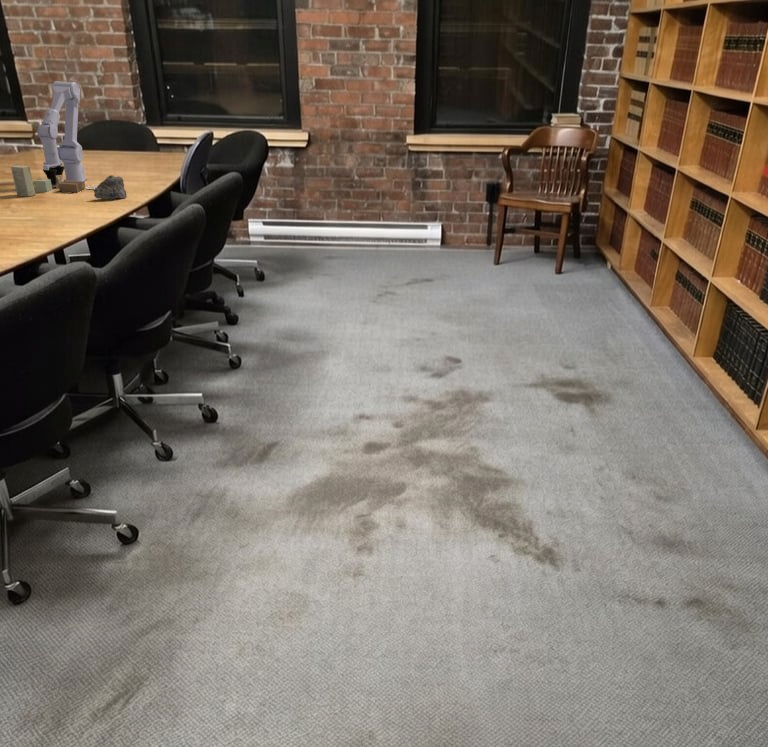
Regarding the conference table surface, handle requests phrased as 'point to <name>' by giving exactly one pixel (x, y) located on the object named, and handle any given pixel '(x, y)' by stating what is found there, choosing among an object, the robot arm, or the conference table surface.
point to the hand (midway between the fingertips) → (56, 183)
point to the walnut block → (72, 186)
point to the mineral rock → (110, 188)
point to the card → (91, 187)
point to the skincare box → (23, 180)
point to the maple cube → (58, 180)
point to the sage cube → (43, 185)
